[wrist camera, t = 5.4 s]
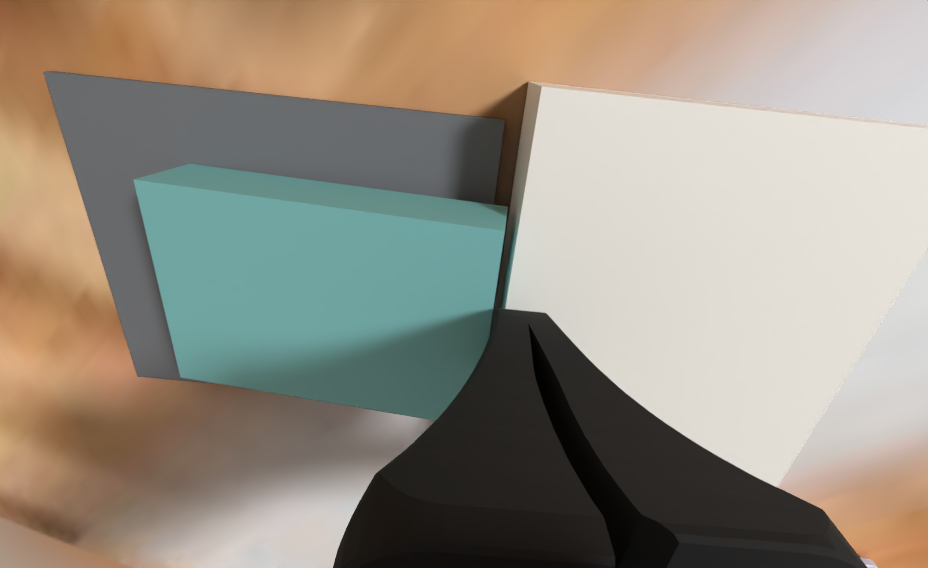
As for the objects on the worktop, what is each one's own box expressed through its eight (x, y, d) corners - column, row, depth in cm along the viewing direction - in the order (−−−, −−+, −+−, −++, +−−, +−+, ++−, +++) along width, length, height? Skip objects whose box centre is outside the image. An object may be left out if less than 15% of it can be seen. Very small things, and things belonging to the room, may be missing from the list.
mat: (467, 400, 16) (466, 405, 16) (143, 371, 16) (137, 376, 16) (504, 119, 12) (505, 120, 12) (53, 71, 12) (43, 71, 11)
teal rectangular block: (481, 383, 14) (475, 427, 13) (221, 340, 15) (180, 377, 13) (508, 206, 12) (504, 231, 10) (189, 163, 12) (133, 179, 11)
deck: (730, 443, 17) (768, 500, 15) (477, 421, 17) (477, 475, 15) (899, 121, 12) (998, 136, 9) (528, 81, 11) (541, 86, 9)
